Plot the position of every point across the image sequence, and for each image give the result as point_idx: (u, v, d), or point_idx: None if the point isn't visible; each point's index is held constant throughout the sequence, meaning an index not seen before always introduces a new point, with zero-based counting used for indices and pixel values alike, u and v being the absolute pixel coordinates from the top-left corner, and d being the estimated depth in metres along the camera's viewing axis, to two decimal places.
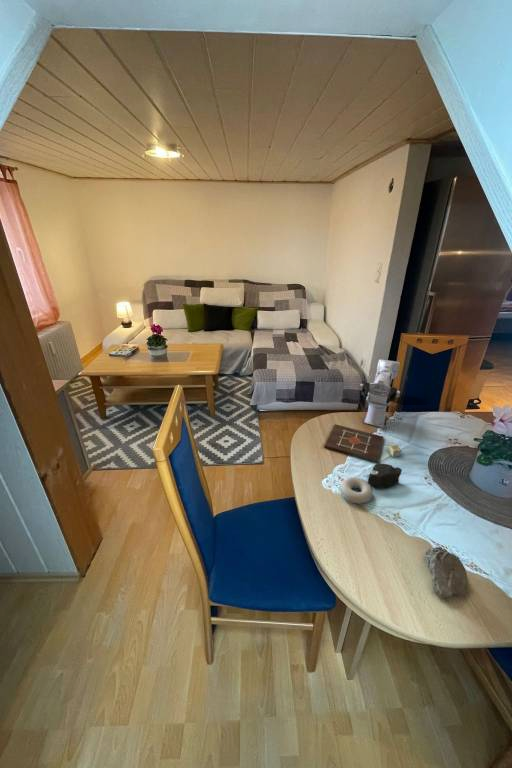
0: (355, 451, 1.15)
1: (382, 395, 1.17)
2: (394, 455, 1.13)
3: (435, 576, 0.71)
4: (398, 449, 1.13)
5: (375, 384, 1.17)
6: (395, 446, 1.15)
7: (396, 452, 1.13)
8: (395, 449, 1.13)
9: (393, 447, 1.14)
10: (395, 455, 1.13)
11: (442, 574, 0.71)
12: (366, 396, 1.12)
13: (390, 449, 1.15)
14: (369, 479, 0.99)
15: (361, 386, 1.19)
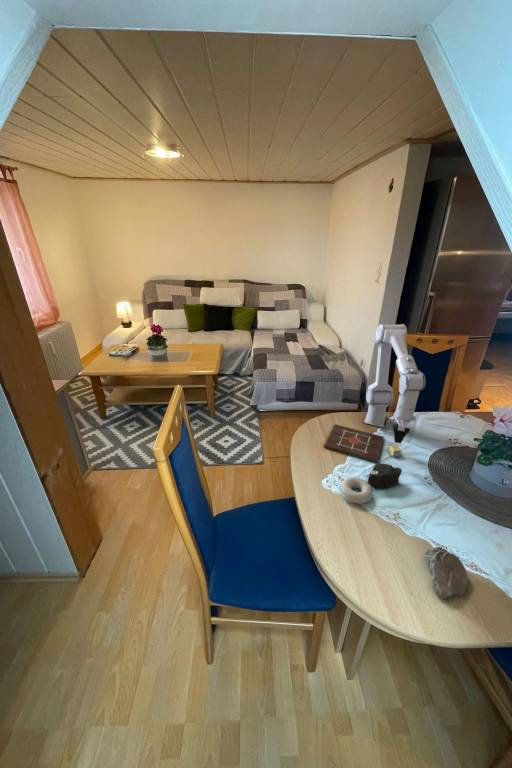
0: (355, 451, 1.15)
1: None
2: (394, 455, 1.13)
3: (435, 576, 0.71)
4: (398, 449, 1.13)
5: None
6: (395, 446, 1.15)
7: (396, 452, 1.13)
8: (395, 449, 1.13)
9: (393, 447, 1.14)
10: (395, 455, 1.13)
11: (442, 574, 0.71)
12: None
13: (390, 449, 1.15)
14: (369, 479, 0.99)
15: None
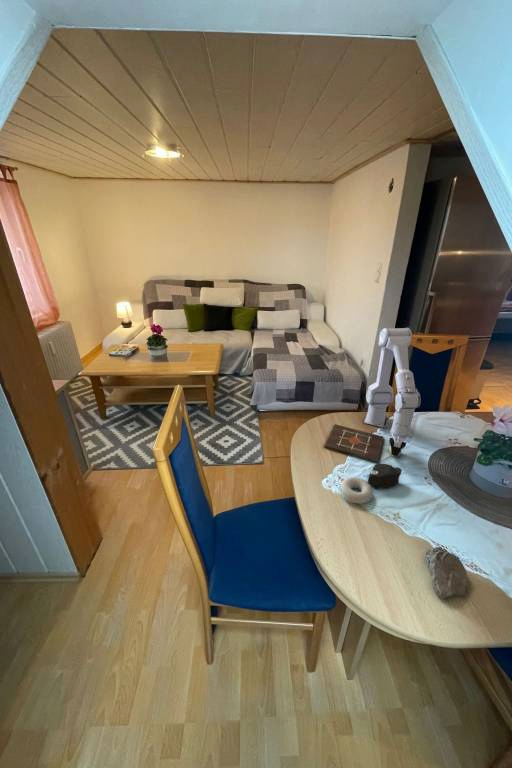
0: (355, 451, 1.15)
1: None
2: None
3: (435, 576, 0.71)
4: None
5: None
6: None
7: None
8: None
9: None
10: None
11: (442, 574, 0.71)
12: None
13: (390, 449, 1.15)
14: (369, 479, 0.99)
15: None
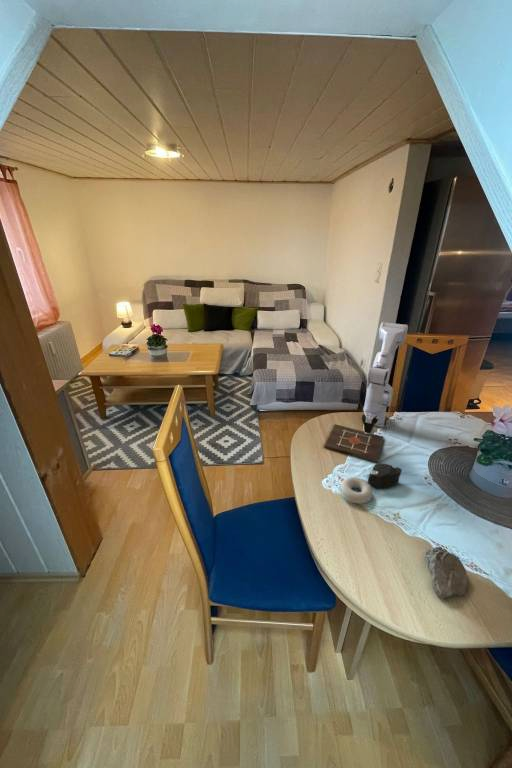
0: (355, 451, 1.15)
1: None
2: None
3: (435, 576, 0.71)
4: None
5: None
6: None
7: None
8: None
9: None
10: None
11: (442, 574, 0.71)
12: None
13: None
14: (369, 479, 0.99)
15: None
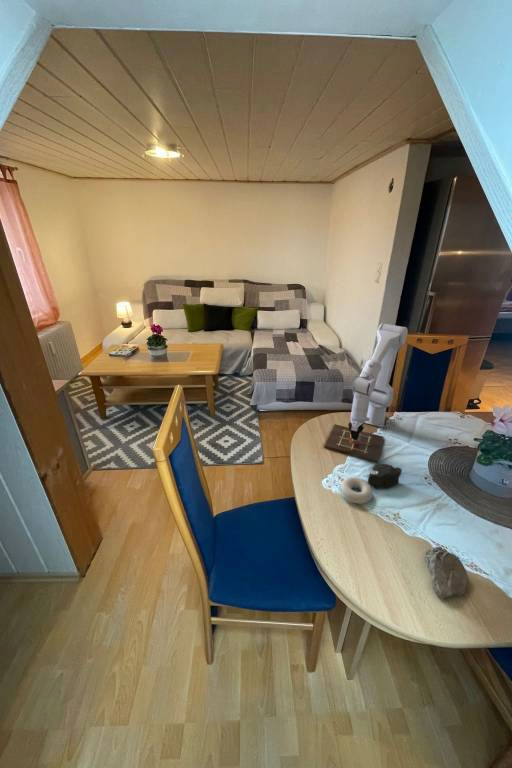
0: (355, 451, 1.15)
1: None
2: None
3: (435, 576, 0.71)
4: None
5: None
6: None
7: None
8: None
9: None
10: None
11: (442, 574, 0.71)
12: None
13: None
14: (369, 479, 0.99)
15: None
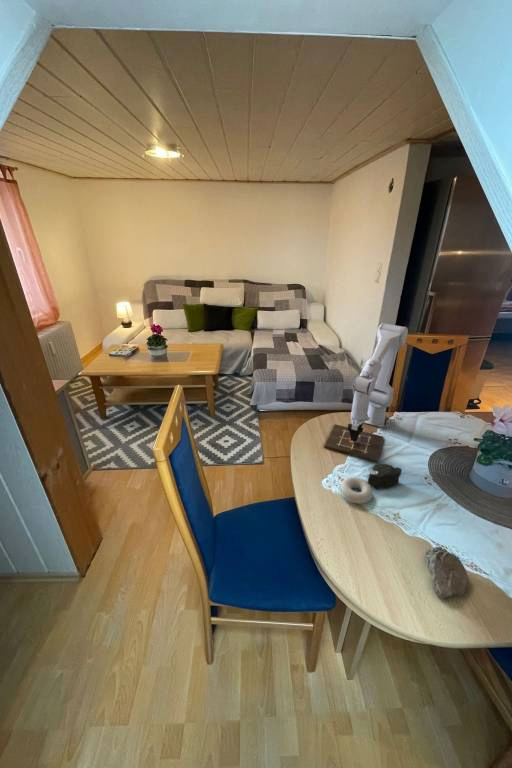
0: (355, 451, 1.15)
1: None
2: (354, 441, 1.19)
3: (435, 576, 0.71)
4: None
5: None
6: None
7: None
8: None
9: None
10: None
11: (442, 574, 0.71)
12: None
13: None
14: (369, 479, 0.99)
15: None
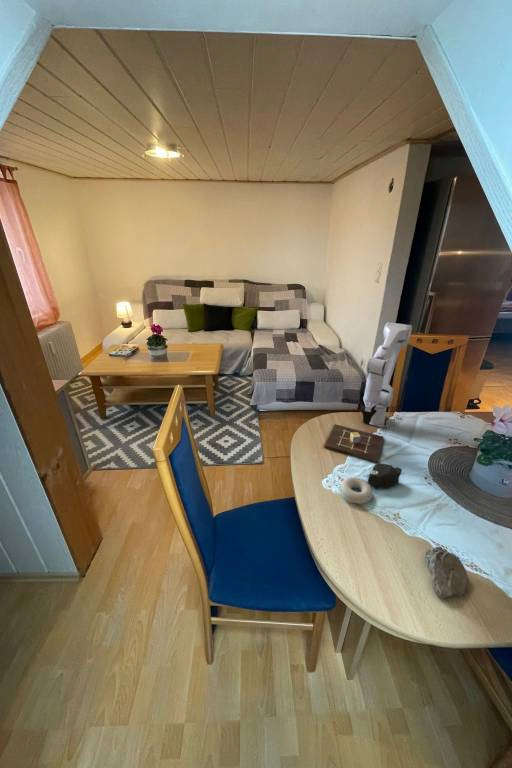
0: (355, 451, 1.15)
1: None
2: (354, 441, 1.19)
3: (435, 576, 0.71)
4: (358, 435, 1.19)
5: None
6: (355, 433, 1.20)
7: (356, 438, 1.19)
8: (355, 435, 1.19)
9: (353, 434, 1.20)
10: (355, 441, 1.19)
11: (442, 574, 0.71)
12: (366, 422, 1.18)
13: (351, 436, 1.20)
14: (369, 479, 0.99)
15: None
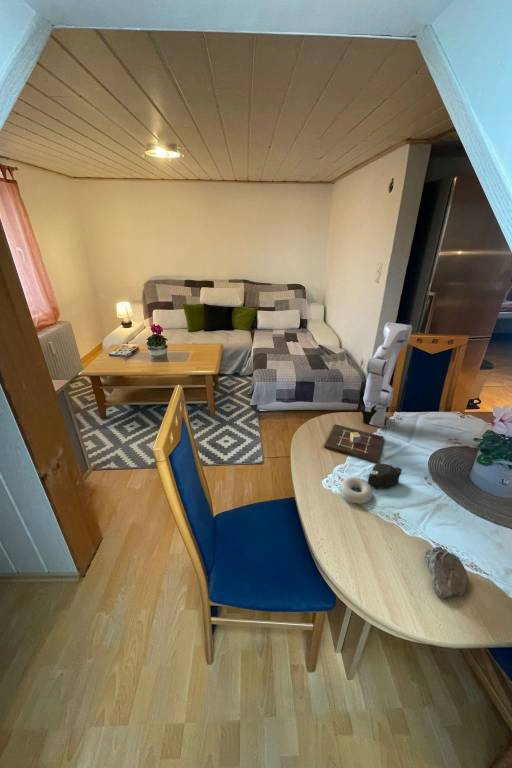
0: (355, 451, 1.15)
1: None
2: (354, 441, 1.19)
3: (435, 576, 0.71)
4: (358, 435, 1.19)
5: None
6: (355, 433, 1.20)
7: (356, 438, 1.19)
8: (355, 435, 1.19)
9: (353, 434, 1.20)
10: (355, 441, 1.19)
11: (442, 574, 0.71)
12: (366, 422, 1.18)
13: (351, 436, 1.20)
14: (369, 479, 0.99)
15: None
